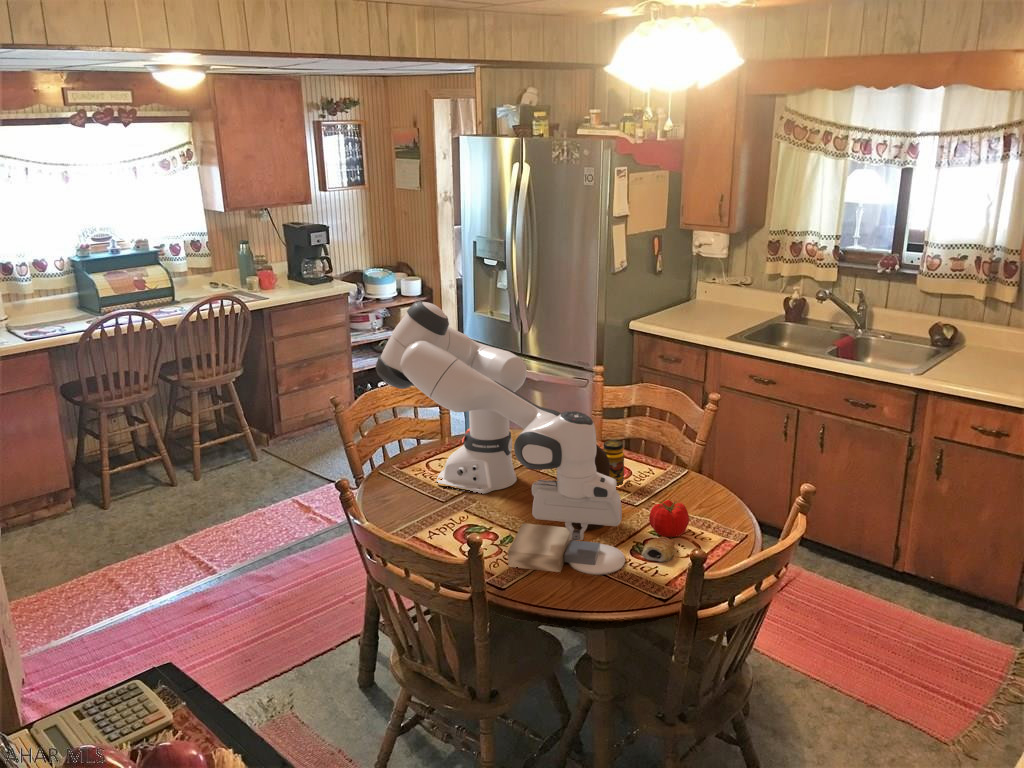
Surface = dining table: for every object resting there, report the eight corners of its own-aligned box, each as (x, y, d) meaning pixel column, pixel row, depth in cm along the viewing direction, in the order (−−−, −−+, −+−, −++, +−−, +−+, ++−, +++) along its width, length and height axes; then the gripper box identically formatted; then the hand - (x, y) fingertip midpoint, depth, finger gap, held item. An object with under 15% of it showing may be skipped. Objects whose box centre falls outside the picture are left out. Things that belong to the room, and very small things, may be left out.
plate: (562, 571, 188) (562, 568, 187) (573, 544, 200) (573, 541, 199) (621, 577, 184) (621, 574, 184) (628, 549, 196) (628, 546, 196)
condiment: (618, 490, 228) (619, 449, 225) (590, 484, 233) (590, 444, 229) (629, 480, 234) (630, 440, 231) (602, 475, 238) (602, 435, 235)
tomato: (691, 528, 206) (692, 500, 204) (683, 544, 198) (684, 515, 196) (654, 522, 210) (654, 494, 208) (644, 537, 202) (645, 509, 200)
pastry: (653, 542, 200) (653, 527, 199) (680, 548, 197) (681, 533, 196) (639, 559, 192) (640, 544, 191) (668, 566, 189) (668, 551, 188)
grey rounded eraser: (564, 562, 190) (564, 554, 189) (570, 547, 196) (570, 539, 196) (595, 565, 188) (595, 557, 188) (600, 550, 195) (600, 542, 194)
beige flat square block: (508, 566, 190) (508, 550, 189) (523, 538, 203) (522, 523, 202) (560, 572, 187) (560, 556, 186) (571, 543, 200) (571, 527, 199)
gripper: (528, 484, 187) (529, 540, 191) (619, 491, 182) (619, 549, 186) (534, 473, 193) (535, 528, 197) (623, 480, 188) (622, 536, 192)
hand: (576, 538), depth 192 cm, fingers closed
